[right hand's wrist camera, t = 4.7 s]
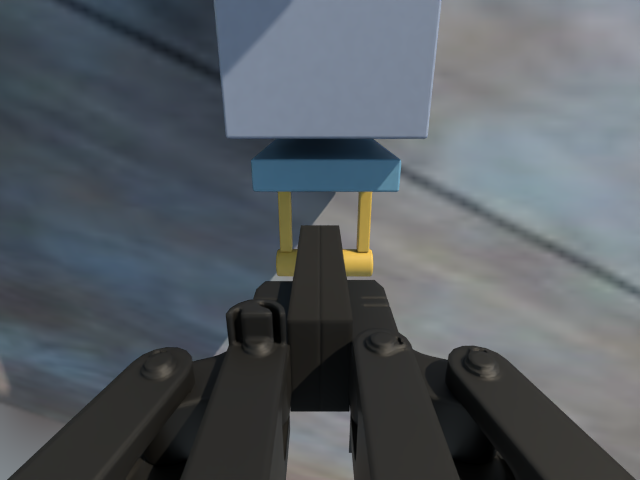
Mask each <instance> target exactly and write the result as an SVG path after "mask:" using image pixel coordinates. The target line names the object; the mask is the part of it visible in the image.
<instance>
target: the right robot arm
mask: <svg viewBox="0 0 640 480" xmlns="http://www.w3.org/2000/svg"><path fill="white" fill-rule="evenodd" d="M226 321H227V330H228V339H229V347H228V349H227V351H226V352H224V353H222V354H220V355H217V356H214V357H210V358H206V359H201V360H197V361H192V357H191V355H190V354H189V353H188V352H187V351H186V350H183V349H180V348H174V347H166V348H161V349H156V350H153V351H151V352H148V353H146V354H144V355H142V356H140V357H139V358H138V359H136V360H135V361H133V362H132V363H131V364H130V365H129V366H128V367H127V368H126V369H125V370H124V371H123V372H122V373H120V374H119V375H118V376H117V377H116V378H115V379H114V380H113V381H112V382H111V383H110V384H109V385H108V386H107V387H106V388H104V389H103V390H102V391H101V392H100V393H99V394H98V395H97V396H96V397H95V398H94V399H93V400H92V401H91V402H90V403H88V404H87V405H86V406H85V407H84V408H83V409H82V410H81V411H80V412H79V413H78V414H77V415H76V416H75V417H74V418H73V419H71V420H70V421H69V422H68V423H67V424H66V425H65V426H64V427H63V428H62V429H61V430H60V431H59V432H58V433H57V434H55V435H54V436H53V437H52V438H51V439H50V440H49V441H48V442H47V443H46V444H45V445H44V446H43V447H42V448H41V449H40V450H38V451H37V452H36V453H35V454H34V455H33V456H32V457H31V458H30V459H29V460H28V461H27V462H26V463H25V464H23V465H22V466H21V467H20V468H19V469H18V470H17V471H16V472H15V473H14V474H13V475H12V476H11V477H10V478H9V479H7V480H286V471H287V459H288V448H289V436H290V416H289V413H290V410H291V411H349V410H350V411H351V416H350V441H349V453H352V459H353V470H354V480H636V479H635V478H633V477H632V476H631V475H630V474H629V473H628V472H627V471H626V470H625V469H624V468H623V467H622V466H621V465H620V464H618V463H617V462H616V461H615V460H614V459H613V458H612V457H611V456H610V455H609V454H608V453H607V452H606V451H604V450H603V449H602V448H601V447H600V446H599V445H598V444H597V443H596V442H595V441H594V440H593V439H592V438H591V437H589V436H588V435H587V434H586V433H585V432H584V431H583V430H582V429H581V428H580V427H579V426H578V425H577V424H575V423H574V422H573V421H572V420H571V419H570V418H569V417H568V416H567V415H566V414H565V413H564V412H563V411H562V410H560V409H559V408H558V407H557V406H556V405H555V404H554V403H553V402H552V401H551V400H550V399H549V398H548V397H546V396H545V395H544V394H543V393H542V392H541V391H540V390H539V389H538V388H537V387H536V386H535V385H534V384H533V383H531V382H530V381H529V380H528V379H527V378H526V377H525V376H524V375H523V374H522V373H521V372H520V371H519V370H517V369H516V368H515V367H514V366H513V365H512V364H511V363H510V362H509V361H508V360H506V359H505V358H504V357H502V356H501V355H499V354H498V353H496V352H494V351H491V350H489V349H486V348H482V347H477V346H461V347H458V348H455V349H453V351H452V352H451V353H450V354H449V357H448V360H446V359H441V358H436V357H432V356H428V355H425V354H421V353H419V352H417V351H415V350H413V349H412V346H411V344H410V342H409V341H408V340H407V338H406V337H404V336H403V335H402V334H400V333H399V332H398V329H397V326H396V323H395V321H394V318H393V315H392V312H391V309H390V307H389V303H388V300H387V297H386V294H385V291H384V288H383V287H382V286H381V285H380V284H378V283H377V282H376V281H375V280H347V276H346V270H345V263H344V256H343V250H342V243H341V236H340V229H339V226H301V229H300V236H299V243H298V250H297V256H296V263H295V270H294V276H293V281H265V282H264V283H263V284H262V285H261V286H260V287H258V288H257V289H256V292H255V295H254V298H253V300H247V301H244V302H241V303H238V304H236V305H235V306H233V307H232V308H230V309H229V311H228V312H227V313H226Z"/></svg>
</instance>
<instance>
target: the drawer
mask: <svg viewBox="0 0 640 480" xmlns="http://www.w3.org/2000/svg"><path fill="white" fill-rule="evenodd" d="M251 169H252V184H253V190H254V191H255V192H278V207H279V231H280V249H279V250H278V251H277V256H276V271H277V275H278V276H294V270H295V263H296V256H297V250H298V249H292V247H293V246H292V211H291V192H359V199H358V225H357V249H342V250H343V256H344V263H345V270H346V276H371V275H372V272H373V254H372V251H371V250H370V249H369V240H370V221H371V202H372V192H397V191H398V190H399V183H400V170H401V160H400V159H399V158H398V157H396V156H395V155H394V154H392V153H391V152H390V151H388V150H387V149H386V148H384V147H383V146H382V145H380V144H379V143H378V142H376V141H375V140H374V139H276V140H275V141H273V142H272V143H271V144H270V145H269V146H267V147H266V148H265V149H264V150H263V151H261V152H260V153H259V154H258V155H257V156H255V157H254V158H253V159H252V160H251Z"/></svg>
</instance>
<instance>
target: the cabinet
mask: <svg viewBox="0 0 640 480" xmlns="http://www.w3.org/2000/svg"><path fill="white" fill-rule="evenodd" d="M440 9H441V0H214V10H215V21H216V32H217V44H218V55H219V66H220V77H221V88H222V99H223V111H224V122H225V133H226V137H227V138H229V139H425V138H427V136H428V126H429V116H430V107H431V97H432V87H433V78H434V68H435V58H436V48H437V39H438V29H439V19H440Z"/></svg>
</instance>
